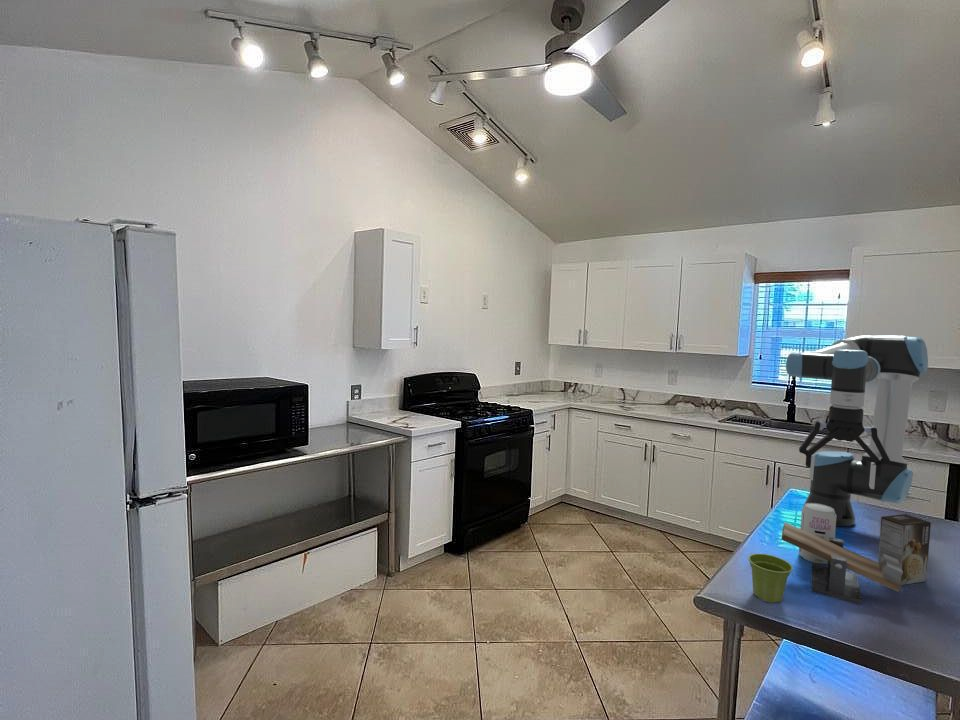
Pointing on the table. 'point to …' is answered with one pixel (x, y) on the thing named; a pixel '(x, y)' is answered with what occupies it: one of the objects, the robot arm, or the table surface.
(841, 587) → the stand
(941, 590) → the table surface
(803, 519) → the supplement can
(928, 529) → the coffee box
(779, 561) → the plant pot
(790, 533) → the balance beam
